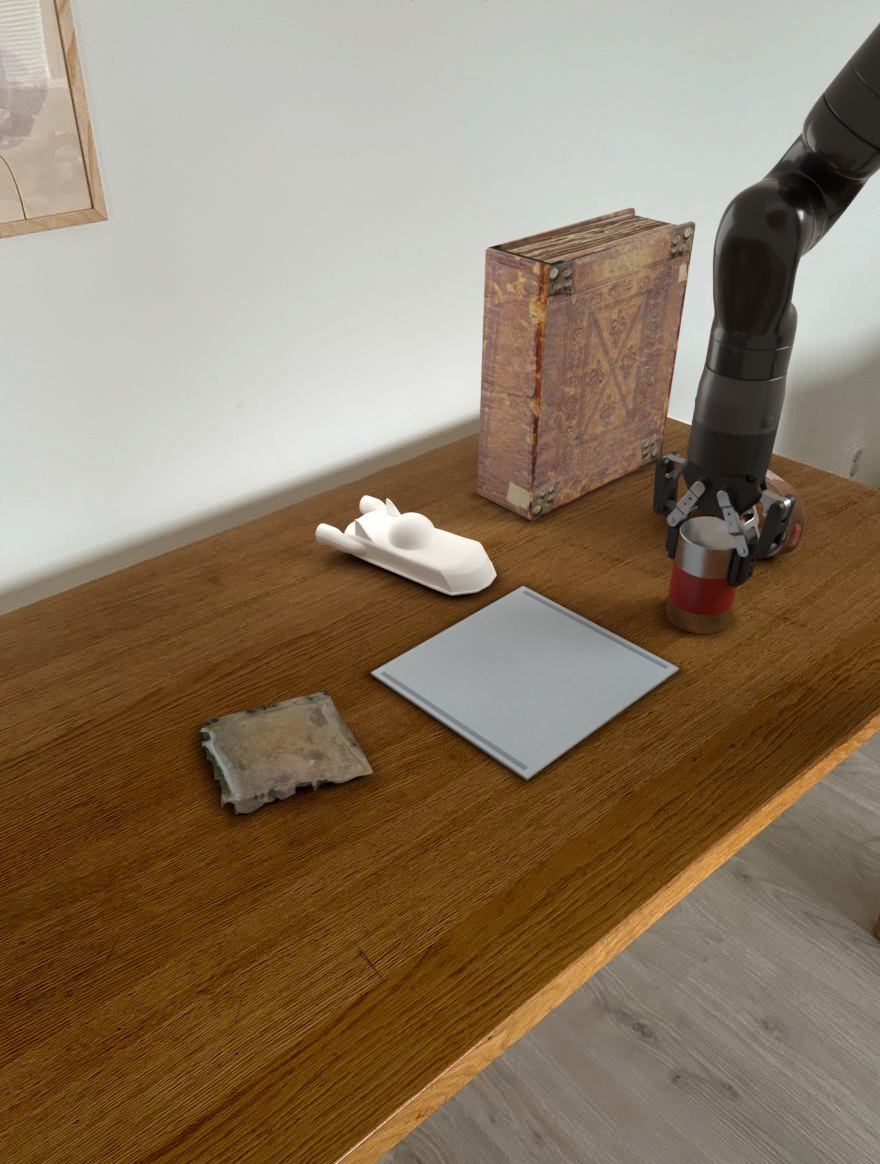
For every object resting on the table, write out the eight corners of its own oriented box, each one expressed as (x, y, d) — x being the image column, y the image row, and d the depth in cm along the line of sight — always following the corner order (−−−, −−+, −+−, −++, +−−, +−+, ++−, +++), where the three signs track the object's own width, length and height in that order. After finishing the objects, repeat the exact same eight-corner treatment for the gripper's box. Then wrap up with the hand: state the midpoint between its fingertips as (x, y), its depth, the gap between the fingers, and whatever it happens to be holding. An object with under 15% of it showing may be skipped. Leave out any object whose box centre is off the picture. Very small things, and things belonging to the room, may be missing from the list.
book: (607, 436, 140) (634, 206, 122) (661, 458, 134) (698, 220, 117) (476, 495, 127) (484, 247, 109) (530, 523, 121) (549, 265, 103)
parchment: (194, 726, 92) (193, 718, 91) (331, 693, 95) (331, 685, 95) (225, 820, 82) (223, 811, 82) (375, 779, 86) (375, 770, 85)
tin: (703, 509, 123) (714, 445, 118) (725, 505, 124) (738, 441, 119) (775, 572, 112) (791, 504, 107) (799, 567, 112) (817, 500, 107)
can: (741, 616, 105) (760, 532, 99) (705, 642, 101) (723, 556, 96) (688, 591, 109) (703, 509, 103) (652, 615, 105) (666, 532, 99)
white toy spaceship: (462, 612, 106) (463, 565, 103) (315, 555, 116) (312, 510, 112) (513, 569, 113) (516, 523, 109) (370, 518, 122) (369, 475, 119)
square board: (678, 670, 98) (679, 667, 98) (526, 780, 86) (527, 777, 86) (523, 587, 110) (523, 585, 110) (370, 674, 98) (370, 672, 98)
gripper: (831, 425, 90) (790, 583, 99) (692, 380, 98) (667, 530, 108) (786, 451, 86) (748, 614, 95) (646, 402, 94) (624, 556, 104)
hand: (705, 569), depth 102 cm, fingers closed on can, 6 cm apart
